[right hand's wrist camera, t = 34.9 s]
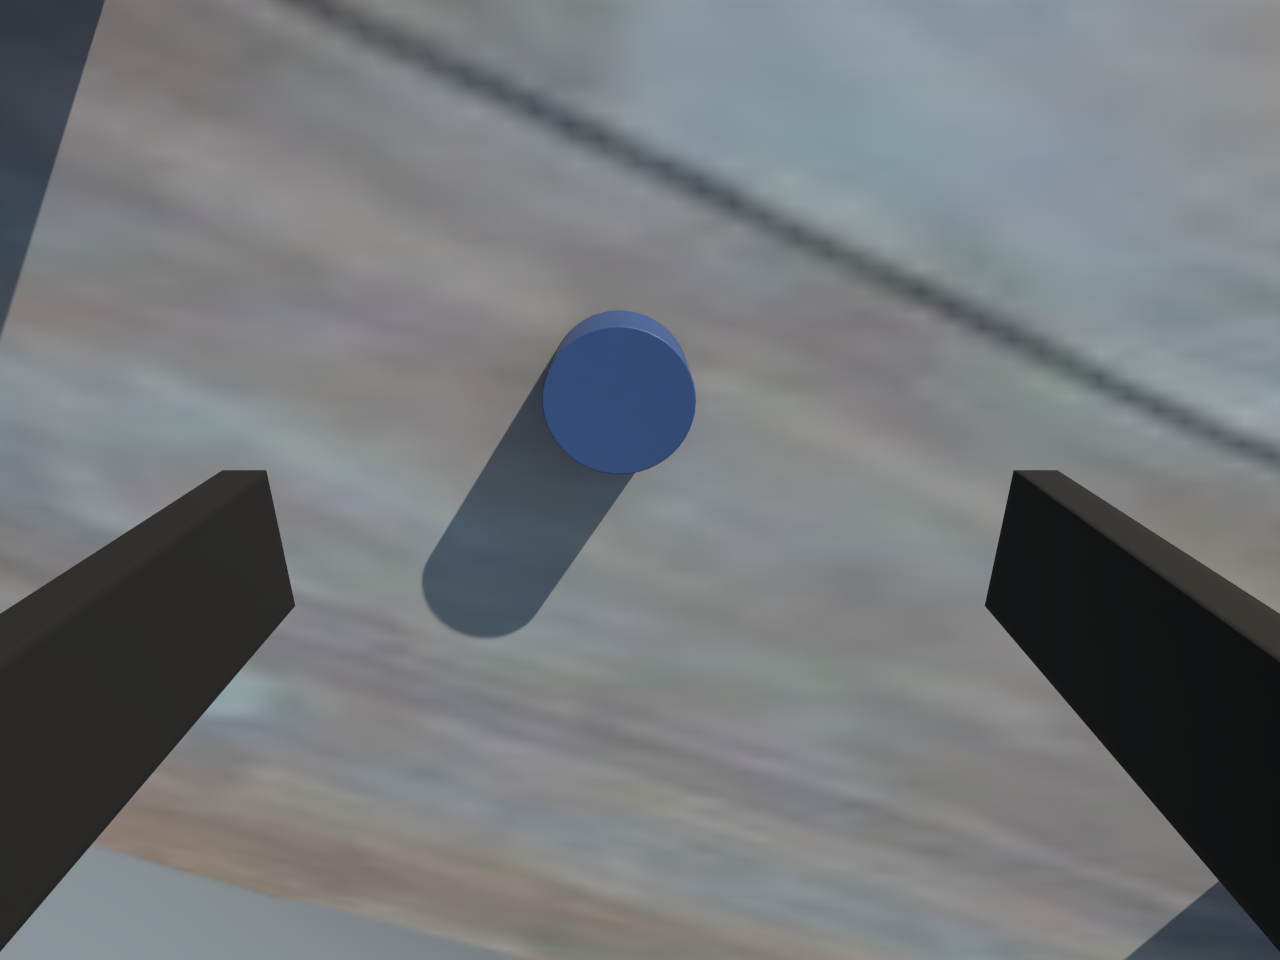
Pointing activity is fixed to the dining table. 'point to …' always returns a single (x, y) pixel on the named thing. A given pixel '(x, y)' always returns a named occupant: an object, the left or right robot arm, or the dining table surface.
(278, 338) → the dining table surface
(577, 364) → the cap
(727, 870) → the dining table surface
